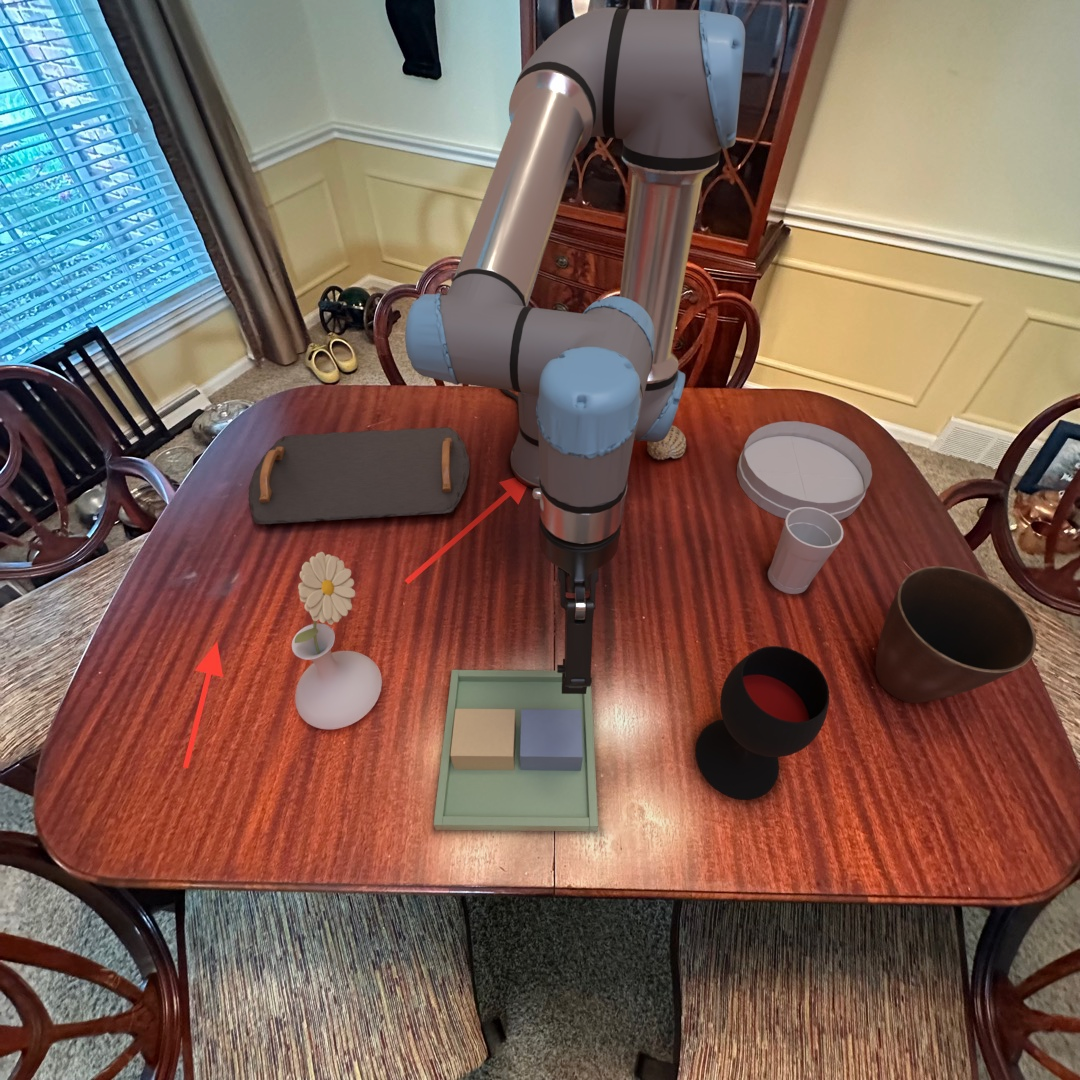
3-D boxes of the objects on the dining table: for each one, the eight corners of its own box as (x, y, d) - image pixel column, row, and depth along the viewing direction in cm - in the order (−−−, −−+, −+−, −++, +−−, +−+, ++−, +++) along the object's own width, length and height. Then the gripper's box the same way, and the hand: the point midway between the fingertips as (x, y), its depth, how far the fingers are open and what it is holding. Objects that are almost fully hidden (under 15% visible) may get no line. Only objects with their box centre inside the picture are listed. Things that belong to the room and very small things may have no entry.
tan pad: (454, 769, 75) (450, 755, 71) (459, 723, 79) (455, 708, 75) (514, 770, 75) (513, 756, 71) (516, 724, 79) (515, 708, 75)
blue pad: (520, 770, 75) (519, 756, 71) (522, 724, 79) (521, 709, 75) (581, 770, 75) (582, 756, 71) (579, 724, 79) (581, 709, 75)
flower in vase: (342, 751, 77) (278, 649, 58) (280, 706, 81) (202, 598, 62) (409, 673, 84) (371, 560, 65) (349, 636, 88) (297, 519, 69)
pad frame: (435, 830, 71) (433, 824, 69) (453, 676, 84) (451, 669, 82) (597, 831, 71) (598, 826, 69) (589, 677, 84) (590, 670, 82)
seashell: (642, 449, 120) (647, 463, 111) (645, 419, 118) (650, 430, 108) (681, 451, 120) (689, 465, 110) (685, 421, 117) (693, 432, 108)
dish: (742, 518, 104) (749, 498, 100) (730, 437, 118) (737, 416, 114) (875, 529, 102) (888, 509, 98) (847, 445, 116) (857, 425, 113)
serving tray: (241, 536, 101) (226, 510, 96) (270, 446, 116) (259, 421, 112) (471, 522, 103) (468, 496, 98) (470, 436, 118) (467, 410, 114)
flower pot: (987, 698, 82) (1065, 635, 69) (914, 752, 77) (984, 694, 65) (895, 618, 90) (950, 549, 78) (824, 661, 85) (871, 595, 73)
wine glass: (686, 722, 79) (720, 642, 64) (763, 716, 80) (814, 635, 65) (707, 804, 72) (751, 736, 57) (791, 796, 73) (856, 727, 58)
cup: (816, 602, 92) (847, 551, 83) (763, 593, 93) (787, 543, 84) (812, 562, 97) (839, 511, 88) (761, 554, 98) (783, 503, 89)
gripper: (540, 427, 63) (541, 554, 79) (537, 634, 47) (539, 740, 63) (612, 427, 63) (598, 554, 79) (634, 635, 47) (611, 741, 63)
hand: (572, 637), depth 71 cm, fingers open, 13 cm apart
